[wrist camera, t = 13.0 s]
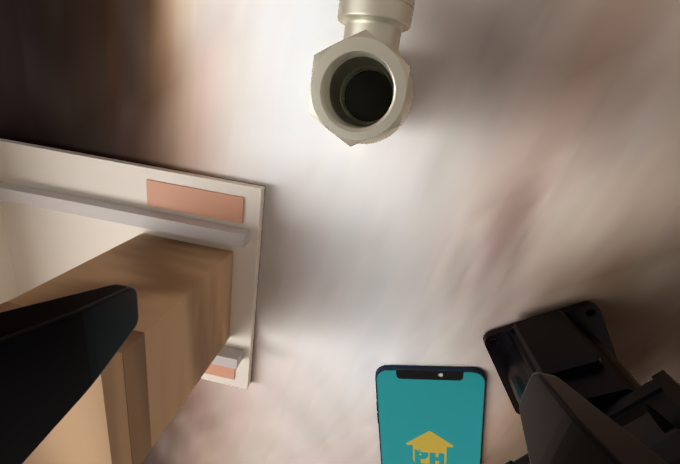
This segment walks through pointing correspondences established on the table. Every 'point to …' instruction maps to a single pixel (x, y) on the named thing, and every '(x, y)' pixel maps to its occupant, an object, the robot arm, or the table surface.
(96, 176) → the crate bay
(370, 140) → the valve
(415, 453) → the smartphone
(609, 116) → the table surface
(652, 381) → the robot arm
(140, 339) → the tan wooden block
